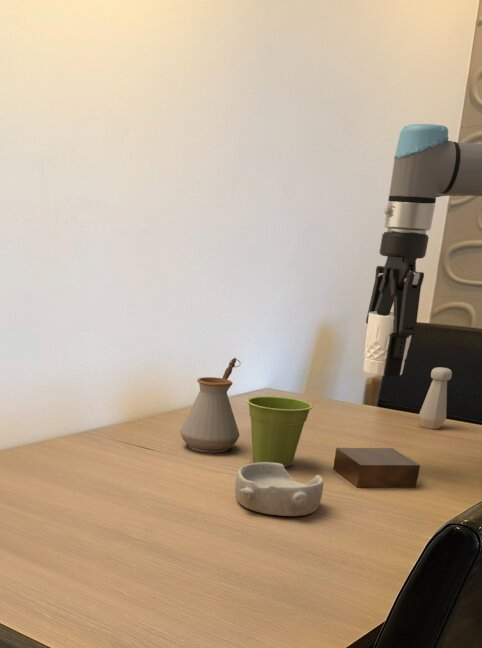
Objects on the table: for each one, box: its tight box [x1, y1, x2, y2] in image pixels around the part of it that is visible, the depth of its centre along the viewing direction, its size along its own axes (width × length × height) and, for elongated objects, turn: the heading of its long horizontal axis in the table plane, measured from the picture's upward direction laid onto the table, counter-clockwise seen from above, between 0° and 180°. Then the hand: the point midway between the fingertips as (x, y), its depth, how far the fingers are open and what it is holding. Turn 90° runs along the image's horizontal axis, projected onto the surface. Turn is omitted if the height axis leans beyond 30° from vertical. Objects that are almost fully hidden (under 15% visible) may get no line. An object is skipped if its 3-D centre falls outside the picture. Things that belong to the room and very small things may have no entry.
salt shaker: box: [418, 366, 453, 430], centre depth 184 cm, size 6×6×13 cm
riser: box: [332, 447, 421, 489], centre depth 147 cm, size 11×11×4 cm
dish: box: [234, 462, 324, 517], centre depth 130 cm, size 14×14×5 cm
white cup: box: [362, 311, 412, 377], centre depth 145 cm, size 8×8×10 cm
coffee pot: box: [179, 357, 242, 453], centre depth 161 cm, size 21×12×15 cm, turn 160°
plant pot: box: [246, 395, 314, 469], centre depth 150 cm, size 12×12×11 cm
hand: (381, 371), depth 147 cm, fingers closed on white cup, 8 cm apart
